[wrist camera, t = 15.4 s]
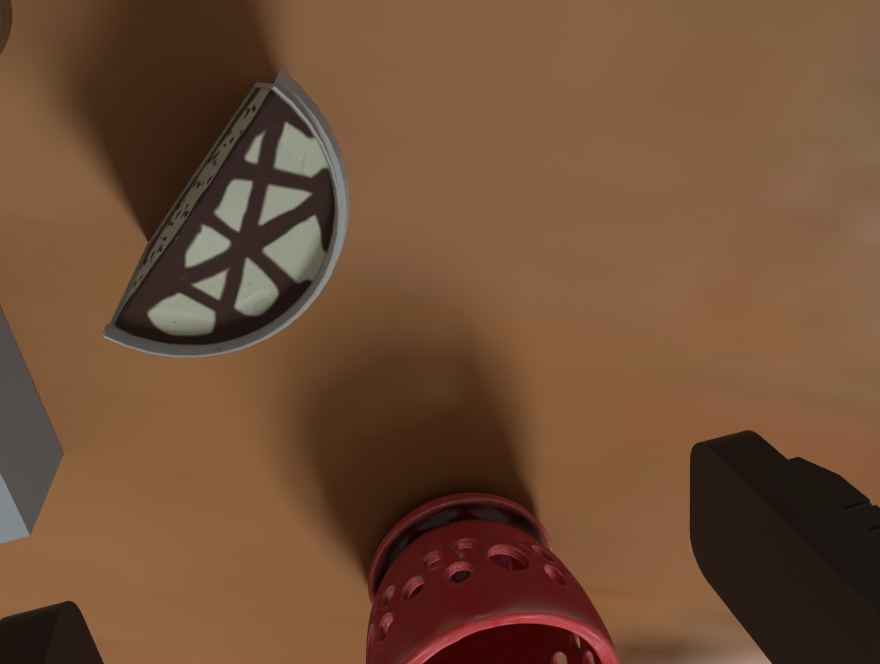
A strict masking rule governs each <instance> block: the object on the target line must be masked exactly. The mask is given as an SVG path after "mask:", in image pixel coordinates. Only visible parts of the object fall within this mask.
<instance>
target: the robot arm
mask: <svg viewBox="0 0 880 664" xmlns="http://www.w3.org/2000/svg"><path fill="white" fill-rule="evenodd" d="M690 539H691V545H692V549H693V552H694V556H695V558H696V561H697V563H698V566H699V568H700V570H701V572H702V574H703V575H704V577H705V578H706V580H707V581H708V583H709V584H710V585H711V586H712V588H713V589H714V590H715V591H716V593H717V594H718V595H719V597H720V598H721V599H722V600H723V602H724V603H725V604H726V606H727V607H728V608H729V609H730V611H731V612H732V613H733V614H734V616H735V617H736V618H737V620H738V621H739V622H740V623H741V625H742V626H743V627H744V628H745V630H746V631H747V632H748V634H749V635H750V636H751V637H752V639H753V640H754V641H755V642H756V644H757V645H758V646H759V648H760V649H761V650H762V651H763V653H764V654H765V655H766V657H767V658H768V659H769V660H770V662H771V663H772V664H880V508H879V507H878V506H877V505H874V506H872V505H871V503H870V500H869V499H868V498H867V497H866V496H864V495H863V494H862V493H861V492H860V491H858V490H857V489H856V488H855V487H853V486H852V485H851V484H850V483H849V482H847V481H846V480H845V479H844V478H842V477H841V476H840V475H838V474H836V473H834V472H832V471H829V470H827V469H825V468H823V467H820V466H818V465H816V464H814V463H811V462H809V461H807V460H804V459H802V458H800V457H796V458H792V459H789V460H787V459H786V458H785V457H784V456H783V455H782V454H781V453H779V452H778V451H777V450H776V449H775V448H774V447H772V446H771V445H770V444H769V443H768V442H767V441H765V440H764V439H763V438H762V437H761V436H760V435H758V434H757V433H755V432H753V431H749V430H747V431H742V432H738V433H734V434H730V435H727V436H723V437H719V438H715V439H711V440H707V441H703V442H699V443H696V444H695V445H694V446H693V448H692V450H691V455H690ZM0 664H104V663H103V661H102V659H101V656H100V654H99V652H98V650H97V647H96V645H95V643H94V640H93V638H92V636H91V634H90V631H89V629H88V627H87V624H86V622H85V620H84V618H83V615H82V613H81V611H80V609H79V608H78V606H77V605H76V604H75V603H73V602H72V601H66V602H63V603H59V604H55V605H51V606H47V607H43V608H39V609H35V610H31V611H27V612H23V613H19V614H15V615H11V616H7V617H4V618H2V619H1V620H0Z"/></svg>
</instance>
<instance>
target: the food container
mask: <svg viewBox="0 0 880 664" xmlns="http://www.w3.org/2000/svg"><path fill="white" fill-rule="evenodd" d="M349 203H350V198H349V188H348V177H347V172H346V168H345V165H344V161H343V157H342V153H341V150H340V148H339V145H338V143H337V141H336V138H335V136H334V134H333V131H332V129H331V127H330V126H329V124H328V122H327V121H326V119H325V118H324V116H323V114H322V113H321V111H320V110H319V108H318V106H317V105H316V104H315V103H314V102H313V100H312V99H311V98H310V97H309V96H308V94H307V93H306V92H305V91H304V90H303V89H302V87H301V86H300V85H299V84H298V83H297V82H295V81H294V80H293V79H292V78H291V77H290V76H289V75H287V74H286V73H285V72H284V71H283V70H282V69H280V70H279V72H278V74H277V77H276V81H275V82H274V84H271V83H262V82H256V83H255V85H254V86H253V87H252V89H251V90H250V92H249V93H248V95H247V96H246V98H245V99H244V101H243V102H242V104H241V105H240V107H239V108H238V110H237V111H236V113H235V114H234V116H233V117H232V119H231V120H230V122H229V123H228V125H227V126H226V128H225V129H224V131H223V132H222V134H221V135H220V136H219V138H218V139H217V141H216V142H215V144H214V145H213V147H212V148H211V150H210V151H209V153H208V154H207V156H206V157H205V159H204V160H203V162H202V163H201V165H200V166H199V168H198V169H197V171H196V172H195V174H194V175H193V177H192V178H191V180H190V181H189V182H188V184H187V185H186V187H185V188H184V190H183V191H182V193H181V194H180V196H179V197H178V199H177V200H176V202H175V203H174V205H173V206H172V208H171V209H170V211H169V212H168V214H167V215H166V217H165V218H164V220H163V221H162V223H161V224H160V226H159V227H158V229H157V230H156V231H155V233H154V234H153V236H152V237H151V239H150V240H149V242H148V244H147V246H146V248H145V250H144V252H143V254H142V256H141V259H140V261H139V263H138V265H137V267H136V269H135V271H134V273H133V275H132V278H131V280H130V282H129V284H128V286H127V288H126V290H125V292H124V294H123V296H122V299H121V301H120V303H119V305H118V307H117V309H116V311H115V313H114V315H113V317H112V320H111V322H110V324H109V325H106V327H105V329H104V333H103V336H104V338H106V339H109V340H111V341H113V342H116V343H118V344H120V345H122V346H125V347H128V348H131V349H135V350H138V351H142V352H145V353H149V354H155V355H162V356H168V357H196V358H197V357H205V356H213V355H221V354H225V353H229V352H233V351H236V350H240V349H244V348H247V347H249V346H251V345H254V344H256V343H258V342H261V341H263V340H265V339H267V338H269V337H271V336H272V335H274V334H276V333H277V332H279V331H281V330H282V329H284V328H285V327H287V326H288V325H289V324H290V323H292V322H293V321H294V320H295V319H296V318H297V317H299V316H300V315H301V314H302V313H303V312H304V311H305V310H306V309H307V308H308V307H309V306H310V304H311V303H312V302H313V301H314V300H315V299H316V298H317V296H318V295H319V294H320V292H321V290H322V289H323V287H324V286H325V284H326V282H327V281H328V279H329V278H330V276H331V274H332V271H333V269H334V267H335V264H336V262H337V259H338V257H339V254H340V252H341V250H342V247H343V243H344V239H345V235H346V231H347V226H348V217H349Z"/></svg>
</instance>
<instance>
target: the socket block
mask: <svg viewBox="0 0 880 664" xmlns="http://www.w3.org/2000/svg"><path fill="white" fill-rule="evenodd" d="M63 454H64V453H63V451H62V449H61V446H60V444H59V442H58V439H57V437H56V435H55V432H54V430H53V428H52V425H51V423H50V421H49V418H48V416H47V414H46V411H45V409H44V407H43V405H42V402H41V400H40V398H39V395H38V393H37V391H36V388H35V386H34V384H33V381H32V379H31V377H30V374H29V372H28V370H27V367H26V365H25V363H24V360H23V358H22V356H21V353H20V351H19V349H18V346H17V344H16V342H15V339H14V337H13V335H12V332H11V330H10V328H9V325H8V323H7V321H6V318H5V316H4V314H3V311H2V309H1V307H0V543H4V542H8V541H11V540H15V539H19V538H23V537H27V536H30V535H31V532H32V530H33V528H34V525H35V523H36V520H37V518H38V515H39V513H40V510H41V508H42V506H43V503H44V501H45V498H46V496H47V493H48V491H49V488H50V486H51V483H52V481H53V479H54V476H55V474H56V471H57V469H58V466H59V464H60V461H61V459H62V457H63Z"/></svg>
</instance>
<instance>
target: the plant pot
mask: <svg viewBox="0 0 880 664" xmlns="http://www.w3.org/2000/svg"><path fill="white" fill-rule="evenodd" d="M368 590H369V597H370V601H371V604H372V610H371V614H370V620H369V625H368V633H367V648H366V664H557V660H558V658H559V656H560V655H561V654H563V653H564V654H565V655H566V658H567V663H568V664H591V656H592V654H593V657H594V663H595V664H620V660H619V657H618V655H617V652H616V649H615V646H614V644H613V642H612V640H611V637H610V635H609V633H608V631H607V629H606V627H605V625H604V623H603V621H602V619H601V618H600V616H599V614H598V612H597V611H596V609H595V607H594V606H593V604H592V602H591V600H590V599H589V597H588V596H587V594H586V593H585V591H584V590H583V588H582V587H581V585H580V584H579V583H578V581H577V580H576V579H575V577H574V576H573V575H572V574H571V573H570V571H569V570H568V569H567V568H566V567H565V565H564V564H563V563H562V562H561V561H560V560H559V559H558V558H557V557H556V556H555V555H554V554H553V552H552V546H551V541H550V539H549V536H548V534H547V532H546V530H545V529H544V527H543V526H542V524H541V523H540V522H539V521H538V519H537V518H536V517H535V516H534V515H533V514H532V513H531V512H529V511H528V510H527V509H525V508H524V507H522V506H521V505H519V504H517V503H516V502H514V501H511V500H509V499H506V498H504V497H501V496H497V495H493V494H487V493H473V492H470V493H457V494H452V495H447V496H444V497H440V498H437V499H434V500H431V501H429V502H427V503H425V504H423V505H421V506H419V507H418V508H416V509H414V510H413V511H411V512H410V513H408V514H407V515H406V516H404V517H403V518H402V519H401V520H400V521H399V522H397V523H396V524H395V525H394V526H393V528H392V529H391V530H390V531H389V532H388V533H387V534H386V536H385V537H384V539H383V540H382V541H381V543H380V545H379V547H378V548H377V550H376V553H375V555H374V557H373V560H372V563H371V567H370V571H369V578H368ZM577 635H578V637H579V639H580V649H579V647H578V645H577V641H576V639H577Z"/></svg>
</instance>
